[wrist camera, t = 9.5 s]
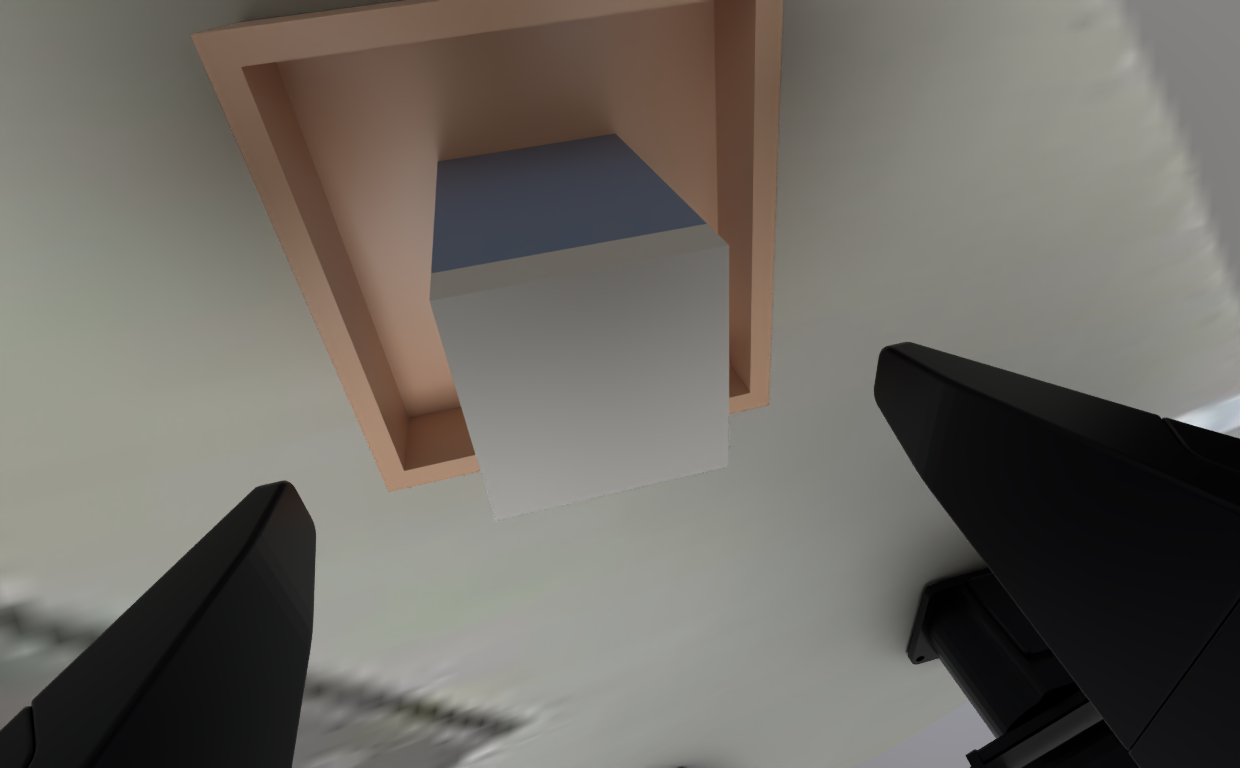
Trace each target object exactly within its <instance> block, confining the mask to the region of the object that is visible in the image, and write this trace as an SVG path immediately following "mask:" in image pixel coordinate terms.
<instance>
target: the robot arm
mask: <svg viewBox="0 0 1240 768" xmlns="http://www.w3.org/2000/svg"><path fill="white" fill-rule="evenodd" d="M874 396H875V400H876V403H877V405H878V407H879V408H880V410H881V412H882V414H883V415H884V417H885V419H886V420H887V422H888V424H889V425H890V427H891V429H892V430H893V432H894V434H895V435H896V437H897V439H898V440H899V442H900V444H901V445H902V447H903V449H904V450H905V452H906V454H907V455H908V457H909V459H910V460H911V462H912V464H913V465H914V467H915V469H916V470H917V472H918V473H919V475H920V476H921V478H922V479H923V481H924V482H925V484H926V485H927V486H928V488H929V489H930V491H931V492H932V493H933V495H934V496H935V497H936V499H937V500H938V501H939V503H940V504H941V505H942V507H943V508H944V509H945V511H946V512H947V513H948V514H949V516H950V517H951V518H952V520H953V521H954V522H955V524H956V525H957V526H958V528H959V529H960V530H961V532H962V533H963V534H964V536H965V537H966V538H967V540H968V541H969V542H970V544H971V545H972V546H973V548H974V549H975V550H976V551H977V553H978V554H979V555H980V557H981V558H982V559H983V561H984V562H985V563H986V565H987V566H988V567H989V569H986V570H983V571H979V572H975V573H972V574H968V575H964V576H961V577H957V578H954V579H950V580H946V581H943V582H939V583H935V584H933V585H931V586H929V587H928V588H927V589H926V590H925V592H924V595H923V599H922V603H921V607H920V610H919V614H918V618H917V622H916V625H915V629H914V633H913V637H912V640H911V644H910V648H909V652H908V658H909V659H910V661H911V662H912V663H913V664H920V663H924V662H927V661H931V660H934V659H938V658H939V659H940V660H941V662H942V663H943V664H944V666H945V667H946V669H947V670H948V671H949V673H950V674H951V676H952V677H953V678H954V680H955V681H956V683H957V684H958V685H959V687H960V688H961V690H962V691H963V693H964V694H965V695H966V697H967V698H968V700H969V701H970V702H971V704H972V705H973V707H974V708H975V709H976V711H977V712H978V713H979V715H980V716H981V718H982V719H983V720H984V722H985V723H986V724H987V726H988V727H989V729H990V730H991V732H992V733H993V734H994V736H995V737H996V739H995V740H994V741H992V742H990V743H989V744H987V745H986V746H984V747H982V748H981V749H979V750H973V751H972V752H970V753H968V754H967V755H966V757H967V759H968V761H969V763H970V765H971V767H970V768H1240V439H1239V438H1236V437H1232V436H1229V435H1225V434H1221V433H1218V432H1214V431H1211V430H1207V429H1204V428H1200V427H1197V426H1193V425H1190V424H1186V423H1183V422H1180V421H1176V420H1173V419H1170V418H1162V419H1161V418H1160V416H1158V415H1156V414H1152V413H1149V412H1145V411H1142V410H1139V409H1135V408H1132V407H1129V406H1125V405H1122V404H1118V403H1115V402H1112V401H1108V400H1105V399H1101V398H1098V397H1095V396H1091V395H1088V394H1084V393H1081V392H1078V391H1074V390H1071V389H1067V388H1064V387H1061V386H1057V385H1054V384H1051V383H1047V382H1044V381H1040V380H1037V379H1034V378H1030V377H1027V376H1023V375H1020V374H1017V373H1013V372H1010V371H1007V370H1003V369H1000V368H996V367H993V366H990V365H986V364H983V363H979V362H976V361H973V360H969V359H966V358H962V357H959V356H956V355H952V354H949V353H946V352H942V351H939V350H935V349H932V348H929V347H925V346H922V345H918V344H915V343H912V342H903V343H899V344H894V345H890V346H886V347H884V348H883V349H882V350H881V352H880V354H879V359H878V366H877V372H876V379H875V385H874ZM315 554H316V530H315V526H314V522H313V520H312V518H311V516H310V514H309V512H308V511H307V509H306V507H305V505H304V503H303V502H302V500H301V498H300V496H299V494H298V492H297V491H296V489H295V487H294V486H293V485H292V484H291V483H290V482H288V481H279V482H275V483H270V484H265V485H261V486H258V487H256V488H255V489H254V490H252V491H251V492H250V493H249V494H248V495H247V496H246V497H245V498H244V499H243V500H242V501H241V502H240V503H239V504H238V505H237V506H236V507H235V508H233V509H232V510H231V511H230V512H229V513H228V514H227V515H226V516H225V517H224V518H223V519H222V520H221V521H220V522H219V523H218V524H217V525H216V526H215V527H214V528H213V529H211V530H210V531H209V532H208V533H207V534H206V535H205V536H204V537H203V538H202V539H201V540H200V541H199V542H198V543H197V544H196V545H195V546H194V547H193V548H192V549H190V550H189V551H188V552H187V553H186V554H185V555H184V556H183V557H182V558H181V559H180V560H179V561H178V562H177V563H176V564H175V565H174V566H173V567H172V568H171V569H170V570H168V571H167V572H166V573H165V574H164V575H163V576H162V577H161V578H160V579H159V580H158V581H157V582H156V583H155V584H154V585H153V586H152V587H151V588H150V589H149V590H147V591H146V592H145V593H144V594H143V595H142V596H141V597H140V598H139V599H138V600H137V601H136V602H135V603H134V604H133V605H132V606H131V607H130V608H129V609H127V610H126V611H125V612H124V613H123V614H122V615H121V616H120V617H119V618H118V619H117V620H116V621H115V622H114V623H113V624H112V625H111V626H110V627H109V628H108V629H106V630H105V631H104V632H103V633H102V634H101V635H100V636H99V637H98V638H97V639H96V640H95V641H94V642H93V643H92V644H91V645H90V646H89V647H88V648H87V649H85V650H84V651H83V652H82V653H81V654H80V655H79V656H78V657H77V658H76V659H75V660H74V661H73V662H72V663H71V664H70V665H69V666H68V667H67V668H66V669H64V670H63V671H62V672H61V673H60V674H59V675H58V676H57V677H56V678H55V679H54V680H53V681H52V682H51V683H50V684H49V685H48V686H47V687H46V688H45V689H43V690H42V691H41V692H40V693H39V694H38V695H37V696H36V697H35V698H34V699H33V700H32V703H31V706H27V707H25V708H23V709H22V710H21V711H20V712H19V713H18V714H17V715H16V716H15V717H14V718H13V719H12V720H11V721H10V722H9V723H8V724H7V725H6V726H5V727H3V728H2V729H1V730H0V768H292V762H293V756H294V750H295V744H296V737H297V731H298V725H299V718H300V712H301V706H302V699H303V693H304V687H305V680H306V674H307V668H308V661H309V655H310V648H311V641H312V632H313V615H314V585H315Z"/></svg>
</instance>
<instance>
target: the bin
mask: <svg viewBox="0 0 1240 768" xmlns="http://www.w3.org/2000/svg"><path fill="white" fill-rule="evenodd" d="M782 24H783V0H403V1H395V2H388V3H380V4H373V5H365V6H358V7H350V8H343V9H335V10H328V11H320V12H313V13H305V14H298V15H290V16H283V17H275V18H268V19H260V20H253V21H245V22H238V23H234V24H230V25H226V26H222V27H218V28H214V29H210V30H206V31H202V32H198V33H194V34H190V35H191V38H192V40H193V42H194V45H195V47H196V49H197V52H198V54H199V56H200V58H201V61H202V63H203V65H204V68H205V70H206V72H207V75H208V77H209V79H210V81H211V84H212V86H213V88H214V91H215V93H216V95H217V98H218V100H219V102H220V104H221V107H222V109H223V111H224V114H225V116H226V118H227V121H228V123H229V125H230V128H231V130H232V132H233V134H234V137H235V139H236V141H237V144H238V146H239V148H240V151H241V153H242V155H243V157H244V160H245V162H246V164H247V167H248V169H249V171H250V174H251V176H252V178H253V181H254V183H255V185H256V187H257V190H258V192H259V194H260V197H261V199H262V201H263V204H264V206H265V208H266V210H267V213H268V215H269V217H270V220H271V222H272V224H273V227H274V229H275V231H276V233H277V236H278V238H279V240H280V243H281V245H282V247H283V250H284V252H285V254H286V257H287V259H288V261H289V263H290V266H291V268H292V270H293V273H294V275H295V277H296V280H297V282H298V284H299V286H300V289H301V291H302V293H303V296H304V298H305V300H306V303H307V305H308V307H309V309H310V312H311V314H312V316H313V319H314V321H315V323H316V326H317V328H318V330H319V333H320V335H321V337H322V339H323V342H324V344H325V346H326V349H327V351H328V353H329V356H330V358H331V360H332V362H333V365H334V367H335V369H336V372H337V374H338V376H339V379H340V381H341V383H342V386H343V388H344V390H345V392H346V395H347V397H348V399H349V402H350V404H351V406H352V409H353V411H354V413H355V415H356V418H357V420H358V422H359V425H360V427H361V429H362V432H363V434H364V436H365V438H366V441H367V443H368V445H369V448H370V450H371V452H372V455H373V457H374V459H375V462H376V464H377V466H378V468H379V471H380V473H381V475H382V478H383V480H384V482H385V485H386V487H387V489H388V491H389V492H391V491H395V490H400V489H404V488H408V487H413V486H417V485H422V484H426V483H430V482H435V481H439V480H443V479H448V478H452V477H456V476H461V475H465V474H470V473H474V472H478V471H480V468H479V465H478V461H477V458H476V455H475V451H474V448H473V445H472V441H471V438H470V435H469V431H468V428H467V425H466V421H465V418H464V415H463V411H462V408H461V405H460V401H459V398H458V395H457V391H456V388H455V385H454V381H453V378H452V375H451V371H450V368H449V365H448V361H447V358H446V355H445V351H444V348H443V345H442V341H441V338H440V335H439V331H438V328H437V325H436V321H435V318H434V315H433V311H432V308H431V305H430V301H429V299H430V282H431V265H432V248H433V232H434V215H435V198H436V181H437V164H438V161H444V160H451V159H457V158H463V157H470V156H476V155H482V154H489V153H495V152H501V151H508V150H514V149H520V148H527V147H533V146H539V145H546V144H552V143H558V142H565V141H571V140H577V139H584V138H590V137H596V136H603V135H609V134H615V133H616V134H617V135H618V136H619V137H620V138H621V139H622V140H623V141H624V142H625V143H626V144H627V145H628V146H629V147H630V148H631V149H632V150H633V151H634V152H635V153H636V154H637V155H638V156H639V157H640V158H641V159H642V160H643V161H644V162H645V163H646V164H647V165H648V166H649V167H650V168H651V169H652V170H653V171H654V172H655V173H656V174H657V175H658V176H659V177H660V178H661V179H662V180H663V181H664V182H665V183H666V184H667V185H668V186H669V187H670V188H671V189H672V190H673V191H674V192H675V193H676V194H677V195H678V196H680V197H681V198H682V199H683V200H684V201H685V202H686V203H687V204H688V205H689V206H690V207H691V208H692V209H693V210H694V211H695V212H696V213H697V214H698V215H699V216H700V217H701V218H702V219H703V220H704V221H705V222H706V223H707V224H708V225H709V226H710V227H711V228H712V229H713V230H714V231H715V232H716V233H717V234H718V235H719V236H720V237H721V238H722V239H723V240H724V241H725V242H726V243H727V244H728V245H729V414H732V413H736V412H741V411H745V410H749V409H754V408H758V407H763V406H767V405H769V388H770V360H771V332H772V304H773V276H774V248H775V220H776V192H777V164H778V136H779V108H780V80H781V52H782Z"/></svg>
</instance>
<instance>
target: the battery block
mask: <svg viewBox="0 0 1240 768" xmlns="http://www.w3.org/2000/svg"><path fill="white" fill-rule="evenodd" d="M429 301H430V305H431V308H432V311H433V315H434V318H435V321H436V325H437V328H438V331H439V335H440V338H441V341H442V345H443V348H444V351H445V355H446V358H447V361H448V365H449V368H450V371H451V375H452V378H453V381H454V385H455V388H456V391H457V395H458V398H459V401H460V405H461V408H462V411H463V415H464V418H465V421H466V425H467V428H468V431H469V435H470V438H471V441H472V445H473V448H474V451H475V455H476V458H477V461H478V465H479V468H480V471H481V475H482V478H483V481H484V485H485V488H486V491H487V495H488V498H489V501H490V505H491V508H492V511H493V514H494V518H495V521H499V520H503V519H507V518H511V517H516V516H520V515H524V514H529V513H533V512H537V511H541V510H546V509H550V508H554V507H559V506H563V505H567V504H571V503H576V502H580V501H584V500H589V499H593V498H597V497H601V496H606V495H610V494H614V493H619V492H623V491H627V490H631V489H636V488H640V487H644V486H649V485H653V484H657V483H661V482H666V481H670V480H674V479H678V478H683V477H687V476H691V475H696V474H700V473H704V472H708V471H713V470H717V469H721V468H726V467H729V245H728V244H727V243H726V242H725V241H724V240H723V239H722V238H721V237H720V236H719V235H718V234H717V233H716V232H715V231H714V230H713V229H712V228H711V227H710V226H709V225H708V224H707V223H706V222H705V221H704V220H703V219H702V218H701V217H700V216H699V215H698V214H697V213H696V212H695V211H694V210H693V209H692V208H691V207H690V206H689V205H688V204H687V203H686V202H685V201H684V200H683V199H682V198H681V197H680V196H678V195H677V194H676V193H675V192H674V191H673V190H672V189H671V188H670V187H669V186H668V185H667V184H666V183H665V182H664V181H663V180H662V179H661V178H660V177H659V176H658V175H657V174H656V173H655V172H654V171H653V170H652V169H651V168H650V167H649V166H648V165H647V164H646V163H645V162H644V161H643V160H642V159H641V158H640V157H639V156H638V155H637V154H636V153H635V152H634V151H633V150H632V149H631V148H630V147H629V146H628V145H627V144H626V143H625V142H624V141H623V140H622V139H621V138H620V137H619V136H618V135H617V134H616V133H615V134H609V135H603V136H596V137H590V138H584V139H577V140H571V141H565V142H558V143H552V144H546V145H539V146H533V147H527V148H520V149H514V150H508V151H501V152H495V153H489V154H482V155H476V156H470V157H463V158H457V159H451V160H444V161H438V164H437V181H436V198H435V215H434V232H433V248H432V265H431V282H430V299H429Z"/></svg>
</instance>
